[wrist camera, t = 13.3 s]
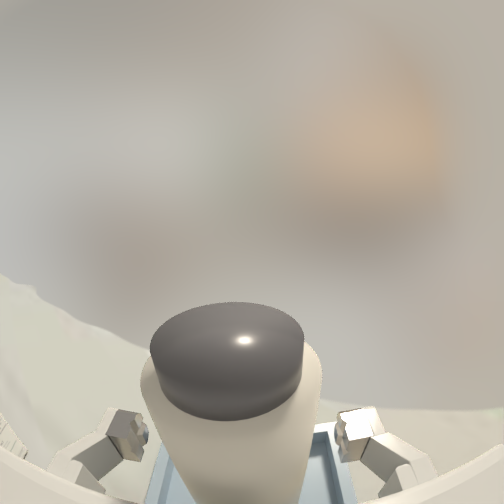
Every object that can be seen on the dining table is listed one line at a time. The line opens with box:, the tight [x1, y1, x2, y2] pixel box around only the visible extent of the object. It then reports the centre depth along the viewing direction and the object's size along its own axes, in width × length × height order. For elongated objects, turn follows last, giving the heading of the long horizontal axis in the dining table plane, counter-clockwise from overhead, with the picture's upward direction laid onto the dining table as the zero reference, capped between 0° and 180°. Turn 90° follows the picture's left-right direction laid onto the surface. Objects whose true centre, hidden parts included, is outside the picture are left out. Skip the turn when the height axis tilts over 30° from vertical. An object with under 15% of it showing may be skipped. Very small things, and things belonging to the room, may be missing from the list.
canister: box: [140, 302, 322, 504], centre depth 10 cm, size 6×6×14 cm
